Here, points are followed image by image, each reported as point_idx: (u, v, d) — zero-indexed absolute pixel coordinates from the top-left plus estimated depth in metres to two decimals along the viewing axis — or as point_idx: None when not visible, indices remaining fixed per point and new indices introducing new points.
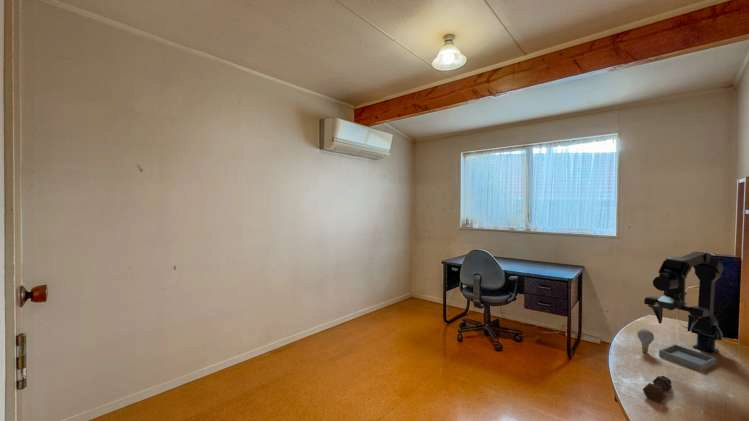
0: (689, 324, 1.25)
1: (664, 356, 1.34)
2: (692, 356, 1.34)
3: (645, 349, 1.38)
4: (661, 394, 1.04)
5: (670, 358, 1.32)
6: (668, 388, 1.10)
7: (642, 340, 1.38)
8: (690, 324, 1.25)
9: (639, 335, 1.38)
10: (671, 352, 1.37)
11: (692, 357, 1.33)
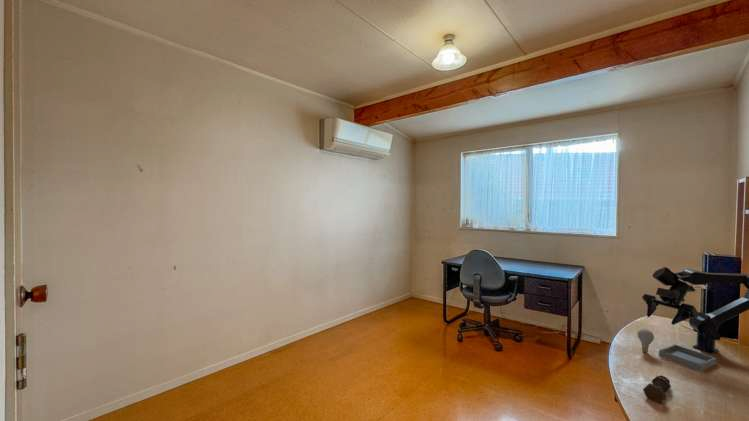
0: (675, 317, 1.36)
1: (664, 356, 1.34)
2: (692, 356, 1.34)
3: (645, 349, 1.38)
4: (661, 394, 1.04)
5: (670, 358, 1.32)
6: (667, 388, 1.10)
7: (642, 340, 1.38)
8: (676, 317, 1.36)
9: (639, 335, 1.38)
10: (671, 352, 1.37)
11: (692, 357, 1.33)
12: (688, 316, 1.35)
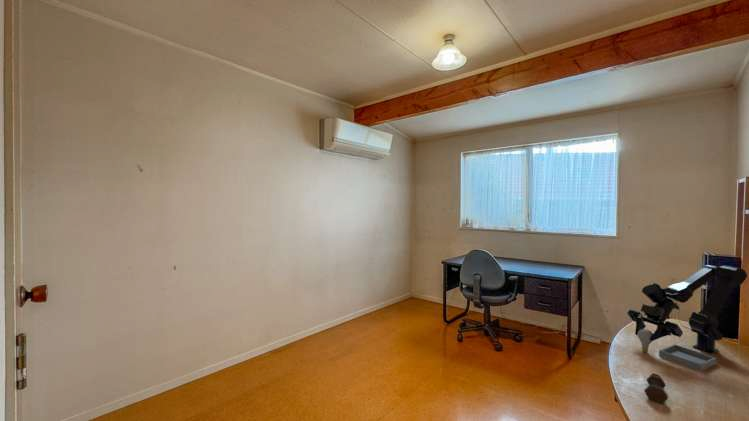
0: (654, 333, 1.35)
1: (664, 356, 1.34)
2: (692, 356, 1.34)
3: (644, 349, 1.38)
4: (664, 395, 1.03)
5: (670, 358, 1.32)
6: (662, 386, 1.11)
7: (642, 340, 1.38)
8: (655, 334, 1.35)
9: (639, 335, 1.38)
10: (671, 352, 1.37)
11: (692, 357, 1.33)
12: (667, 333, 1.34)
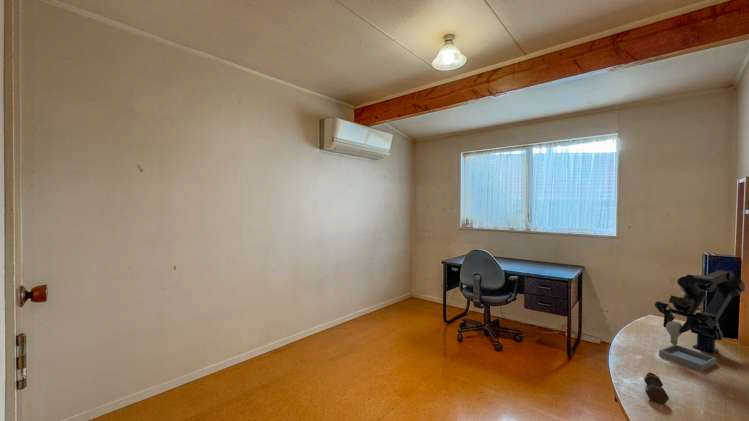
0: (684, 325, 1.31)
1: (664, 356, 1.34)
2: (692, 356, 1.34)
3: (674, 341, 1.34)
4: (665, 395, 1.03)
5: (670, 358, 1.32)
6: (660, 385, 1.11)
7: (671, 332, 1.34)
8: (685, 325, 1.31)
9: (667, 327, 1.34)
10: (671, 352, 1.37)
11: (692, 357, 1.33)
12: (698, 324, 1.30)
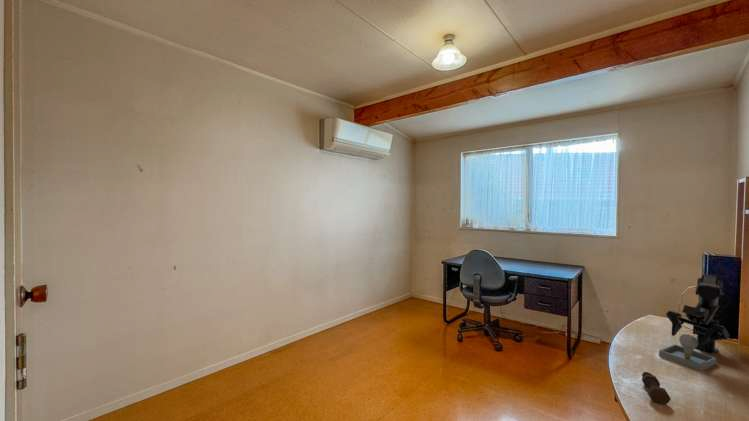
0: (704, 338, 1.27)
1: (664, 356, 1.34)
2: (692, 356, 1.34)
3: (687, 355, 1.32)
4: (667, 396, 1.03)
5: (670, 358, 1.32)
6: (658, 385, 1.11)
7: (685, 346, 1.31)
8: (705, 338, 1.27)
9: (681, 341, 1.32)
10: (671, 352, 1.37)
11: (692, 357, 1.33)
12: (718, 337, 1.26)
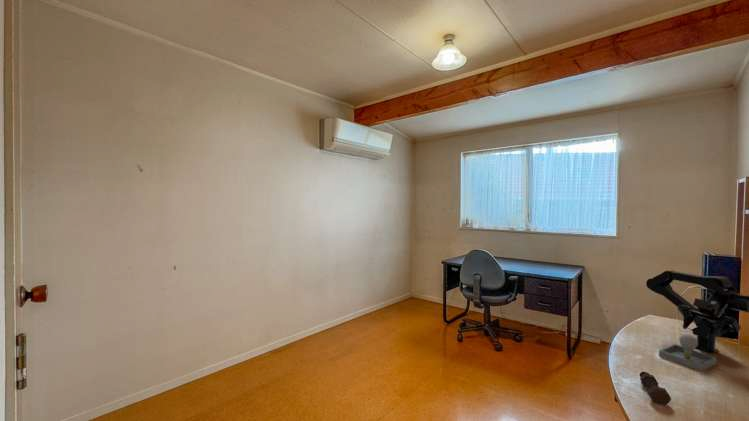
0: (715, 330, 1.29)
1: (664, 356, 1.34)
2: (692, 356, 1.34)
3: (687, 355, 1.32)
4: (668, 396, 1.03)
5: (670, 358, 1.32)
6: (656, 384, 1.12)
7: (685, 346, 1.31)
8: (716, 330, 1.29)
9: (681, 341, 1.32)
10: (671, 352, 1.37)
11: (692, 357, 1.33)
12: (729, 329, 1.28)
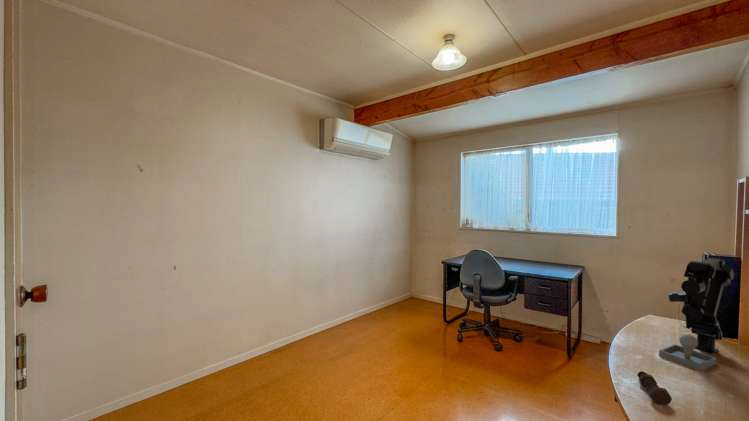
0: (686, 320, 1.34)
1: (664, 356, 1.34)
2: (692, 356, 1.34)
3: (687, 355, 1.32)
4: (669, 396, 1.03)
5: (670, 358, 1.32)
6: None
7: (685, 346, 1.31)
8: (686, 320, 1.34)
9: (681, 341, 1.32)
10: (671, 352, 1.37)
11: (692, 357, 1.33)
12: None
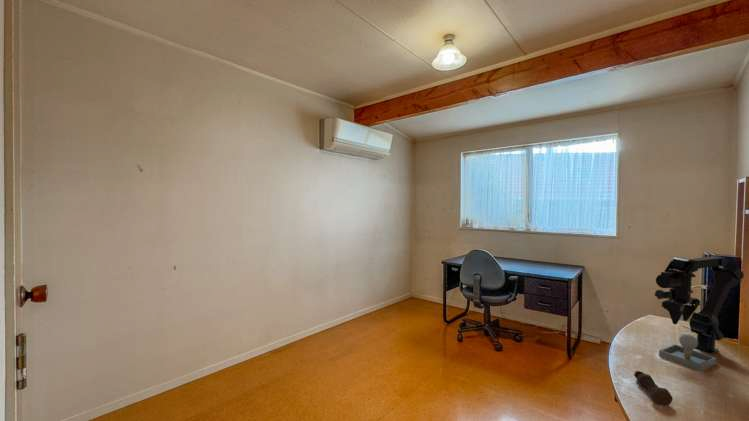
0: None
1: (664, 356, 1.34)
2: (692, 356, 1.34)
3: (687, 355, 1.32)
4: (670, 396, 1.03)
5: (670, 358, 1.32)
6: None
7: (685, 346, 1.31)
8: None
9: (681, 341, 1.32)
10: (671, 352, 1.37)
11: (692, 357, 1.33)
12: None
